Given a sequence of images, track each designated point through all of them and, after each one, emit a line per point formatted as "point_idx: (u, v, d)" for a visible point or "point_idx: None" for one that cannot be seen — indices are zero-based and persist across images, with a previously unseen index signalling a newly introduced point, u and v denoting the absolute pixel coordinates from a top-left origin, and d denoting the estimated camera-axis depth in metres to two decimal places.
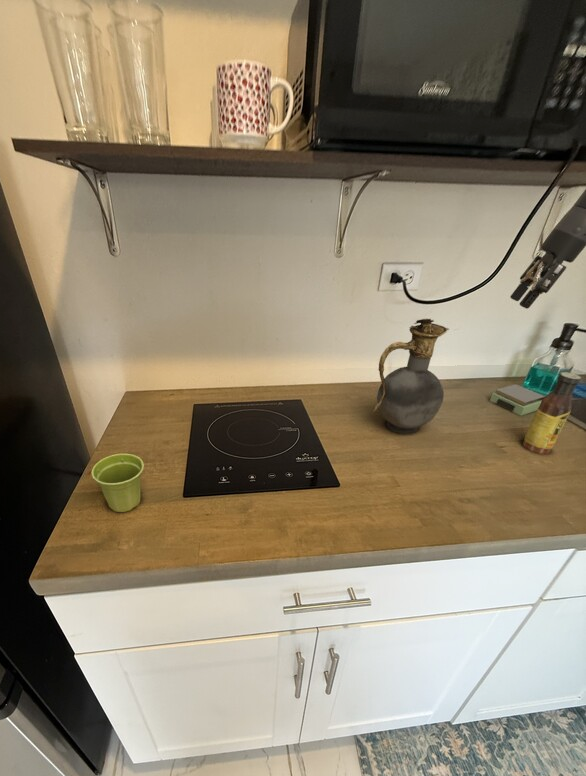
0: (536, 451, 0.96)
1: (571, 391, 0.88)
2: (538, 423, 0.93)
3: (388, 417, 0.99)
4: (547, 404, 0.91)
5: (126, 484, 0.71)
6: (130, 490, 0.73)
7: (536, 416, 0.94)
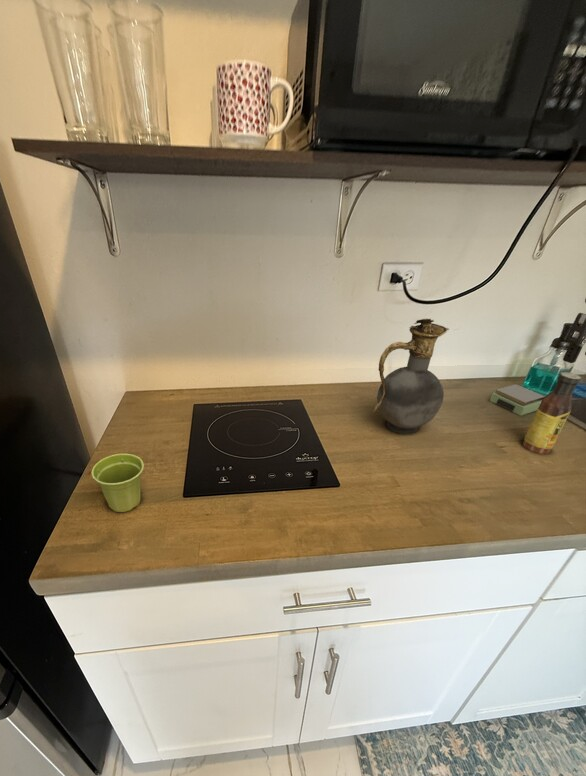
0: (536, 451, 0.96)
1: (571, 391, 0.88)
2: (538, 423, 0.93)
3: (388, 417, 0.99)
4: (547, 404, 0.91)
5: (126, 484, 0.71)
6: (130, 490, 0.73)
7: (536, 416, 0.94)
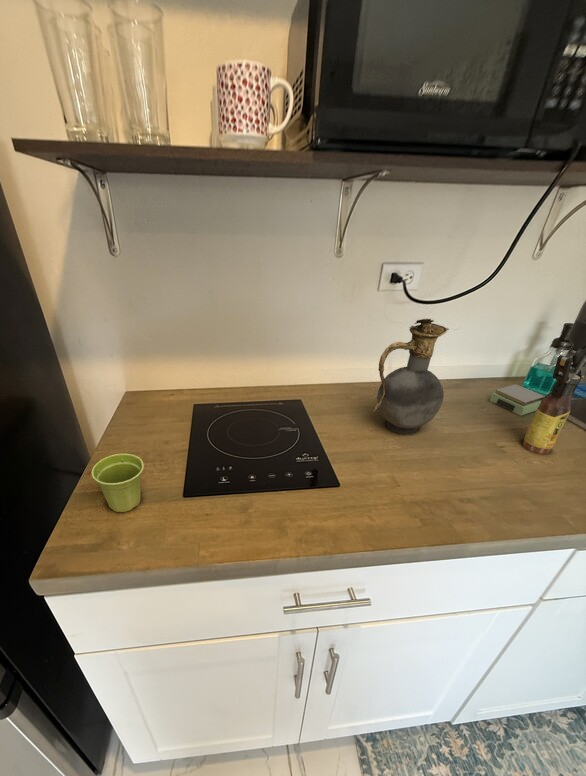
0: (536, 451, 0.96)
1: (570, 391, 0.88)
2: (537, 423, 0.93)
3: (388, 417, 0.99)
4: (546, 404, 0.91)
5: (126, 484, 0.71)
6: (130, 490, 0.73)
7: (535, 416, 0.94)
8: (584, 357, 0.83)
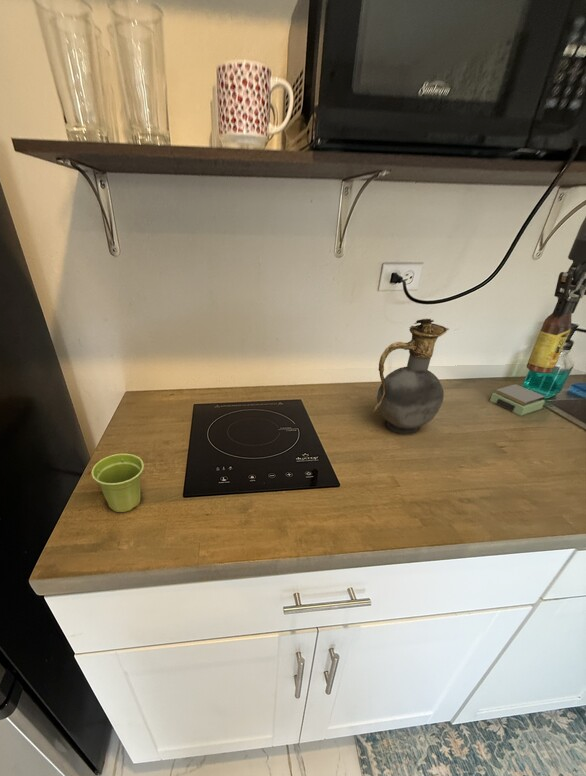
0: (539, 371, 1.03)
1: (570, 309, 0.96)
2: (540, 343, 1.01)
3: (388, 417, 0.99)
4: (548, 323, 0.99)
5: (126, 484, 0.71)
6: (130, 490, 0.73)
7: (539, 337, 1.02)
8: (583, 273, 0.91)
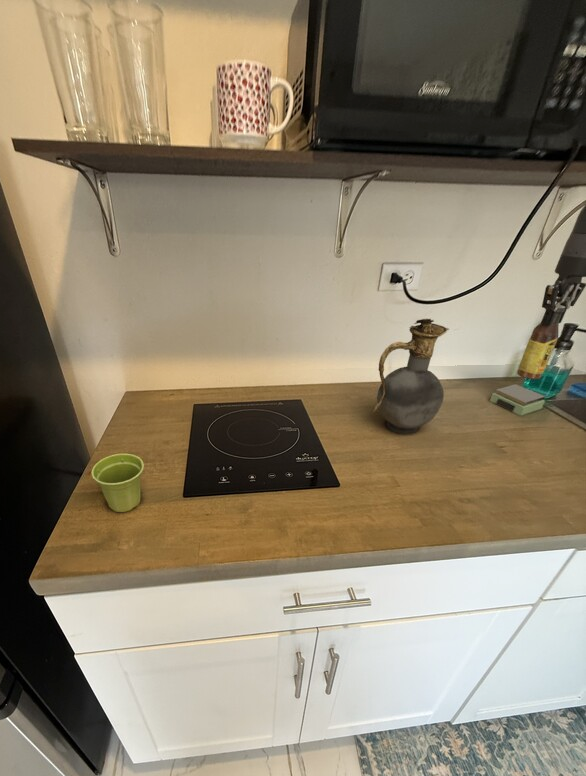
0: (529, 377, 1.10)
1: (557, 319, 1.02)
2: (529, 351, 1.07)
3: (388, 417, 0.99)
4: (537, 332, 1.05)
5: (126, 484, 0.71)
6: (130, 490, 0.73)
7: (528, 345, 1.08)
8: (568, 286, 0.97)
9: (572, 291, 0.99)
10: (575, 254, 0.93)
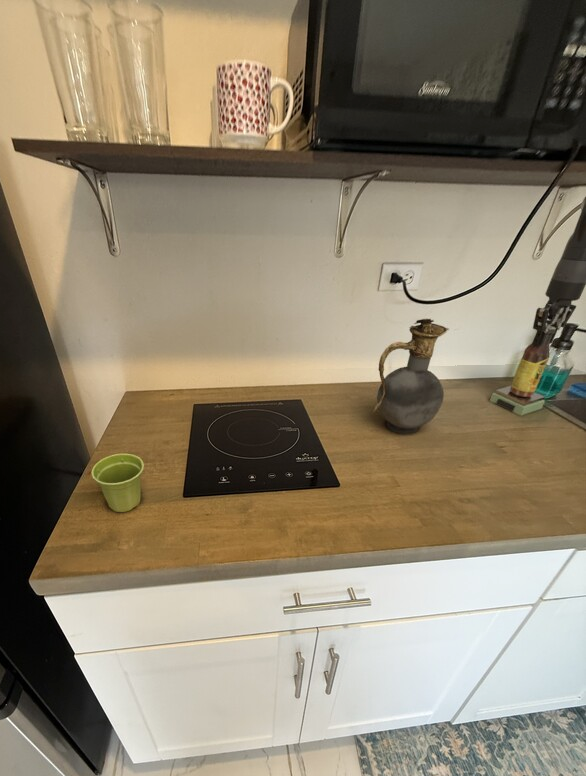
0: (521, 394, 1.13)
1: (548, 340, 1.05)
2: (521, 370, 1.10)
3: (388, 417, 0.99)
4: (528, 352, 1.08)
5: (126, 484, 0.71)
6: (130, 490, 0.73)
7: (520, 364, 1.11)
8: (558, 309, 1.00)
9: (562, 313, 1.02)
10: (564, 279, 0.96)
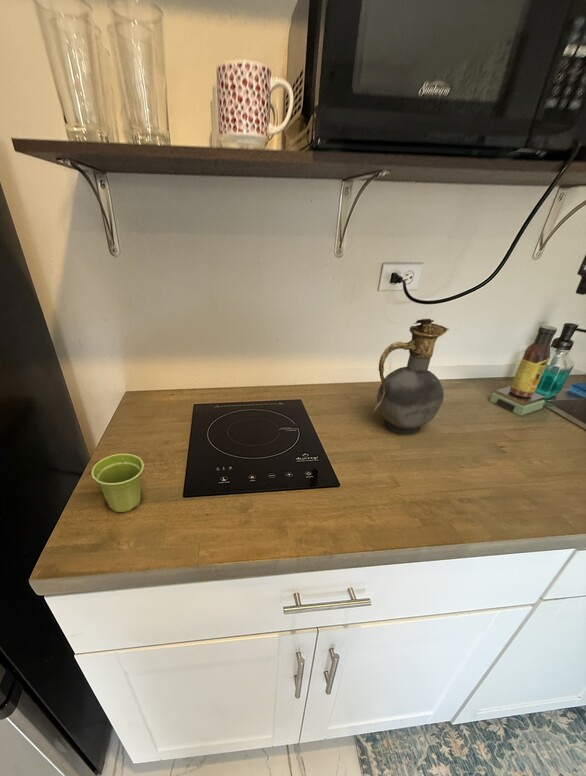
0: (521, 395, 1.13)
1: (549, 340, 1.05)
2: (522, 370, 1.11)
3: (388, 417, 0.99)
4: (529, 352, 1.08)
5: (126, 484, 0.71)
6: (130, 490, 0.73)
7: (521, 364, 1.11)
8: None
9: None
10: None
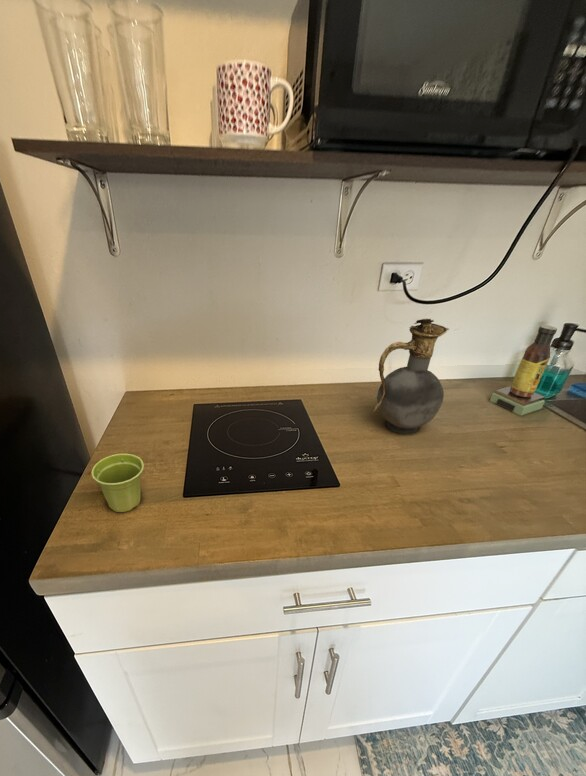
0: (521, 395, 1.13)
1: (549, 340, 1.05)
2: (522, 370, 1.11)
3: (388, 417, 0.99)
4: (529, 352, 1.08)
5: (126, 484, 0.71)
6: (130, 490, 0.73)
7: (521, 364, 1.11)
8: None
9: None
10: None
